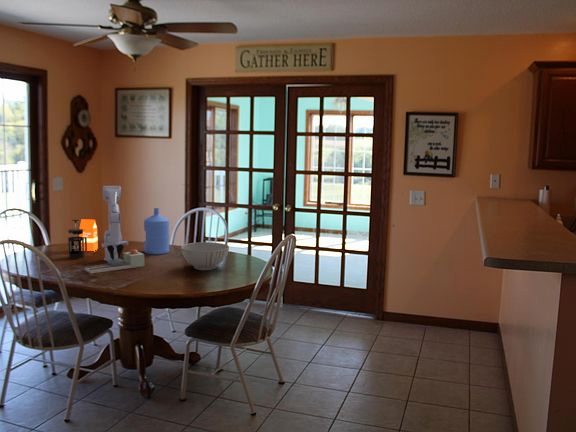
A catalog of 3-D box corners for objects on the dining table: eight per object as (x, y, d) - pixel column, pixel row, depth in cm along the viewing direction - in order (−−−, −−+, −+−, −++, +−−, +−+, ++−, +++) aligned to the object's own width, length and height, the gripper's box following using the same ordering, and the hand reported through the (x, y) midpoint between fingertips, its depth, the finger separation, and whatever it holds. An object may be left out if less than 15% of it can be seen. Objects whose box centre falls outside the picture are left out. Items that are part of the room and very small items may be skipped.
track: (84, 270, 307) (84, 257, 306) (136, 262, 327) (136, 251, 326) (91, 273, 300) (90, 260, 299) (144, 266, 319) (144, 254, 318)
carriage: (107, 263, 314) (107, 252, 313) (118, 261, 318) (117, 251, 317) (112, 265, 308) (112, 254, 308) (123, 264, 312) (123, 253, 311)
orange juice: (93, 252, 354) (92, 220, 351) (79, 251, 354) (78, 220, 351) (97, 249, 361) (97, 218, 359) (84, 249, 362) (83, 218, 359)
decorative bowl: (221, 274, 304) (221, 252, 302) (173, 271, 309) (173, 249, 307) (234, 263, 330) (234, 243, 328) (190, 261, 335) (190, 241, 333)
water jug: (174, 251, 360) (174, 208, 356) (156, 255, 347) (156, 210, 343) (157, 248, 368) (156, 206, 364) (138, 252, 355) (138, 208, 351)
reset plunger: (129, 256, 320) (129, 249, 319) (135, 255, 322) (135, 249, 322) (132, 257, 317) (132, 250, 317) (138, 257, 319) (138, 250, 319)
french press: (72, 260, 330) (70, 221, 327) (64, 257, 336) (62, 219, 333) (90, 257, 339) (89, 219, 335) (82, 254, 345) (81, 217, 341)
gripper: (104, 236, 303) (105, 261, 305) (130, 234, 312) (130, 258, 314) (99, 234, 308) (100, 259, 310) (125, 232, 318) (125, 256, 320)
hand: (115, 258), depth 313 cm, fingers closed on carriage, 3 cm apart
